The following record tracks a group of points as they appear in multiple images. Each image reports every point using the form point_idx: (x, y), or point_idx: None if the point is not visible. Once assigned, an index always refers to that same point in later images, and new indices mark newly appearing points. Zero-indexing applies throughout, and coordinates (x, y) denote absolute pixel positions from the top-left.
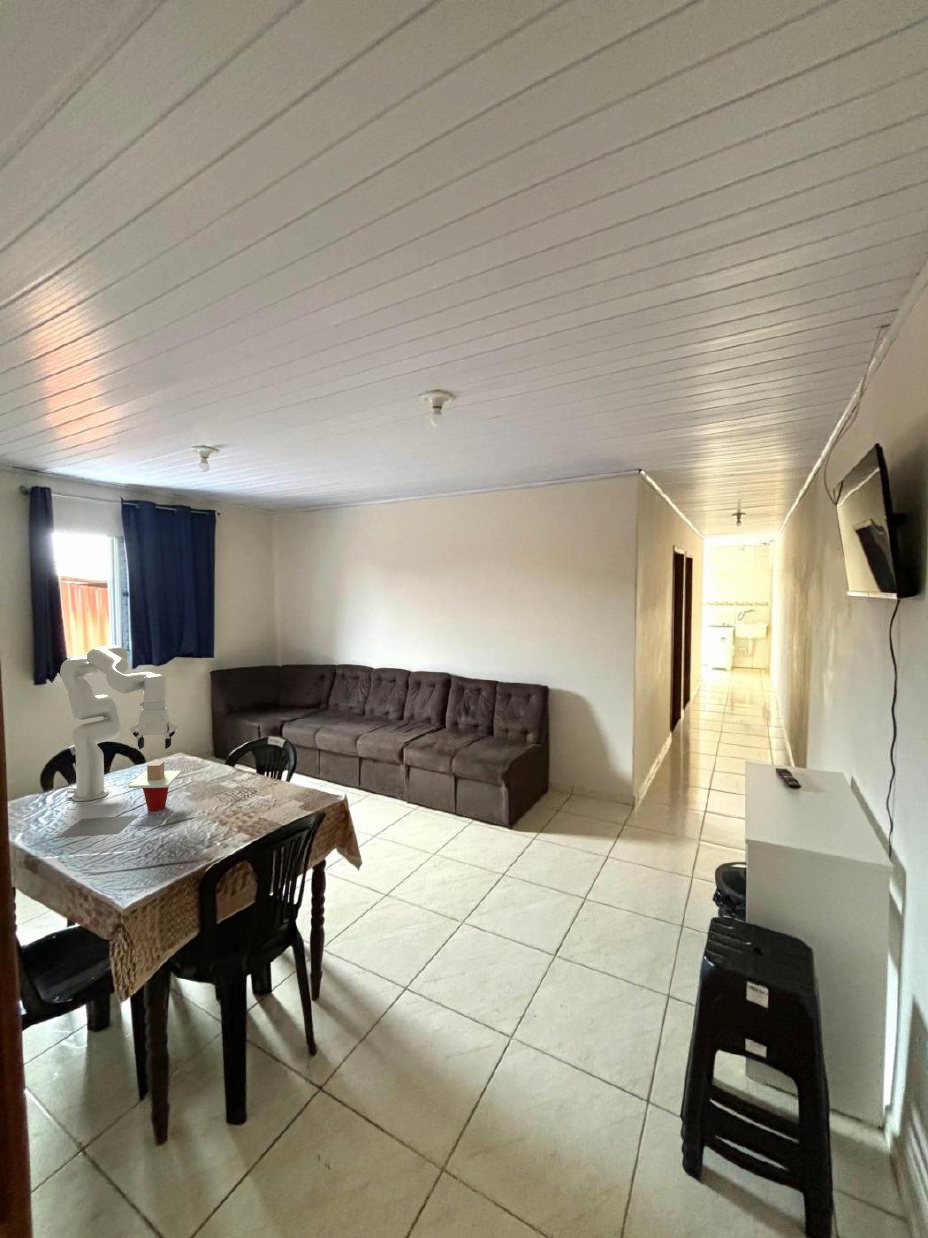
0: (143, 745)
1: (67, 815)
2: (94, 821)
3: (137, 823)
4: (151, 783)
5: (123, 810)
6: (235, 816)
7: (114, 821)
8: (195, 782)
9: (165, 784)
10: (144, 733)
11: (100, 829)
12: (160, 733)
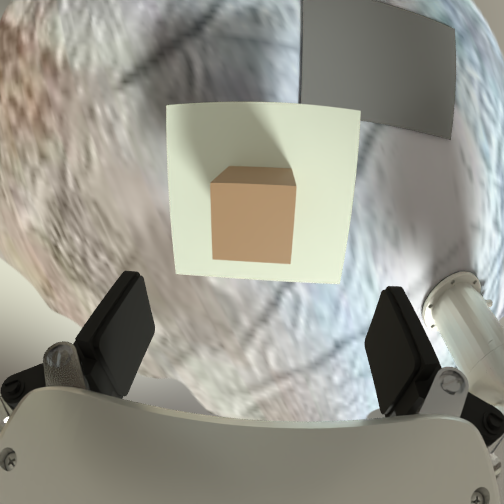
0: (371, 345)
1: (480, 188)
2: (415, 103)
3: (281, 58)
4: (254, 123)
5: (367, 182)
6: (35, 100)
7: (359, 81)
8: (230, 346)
9: (179, 110)
10: (397, 443)
11: (373, 32)
12: (69, 403)
